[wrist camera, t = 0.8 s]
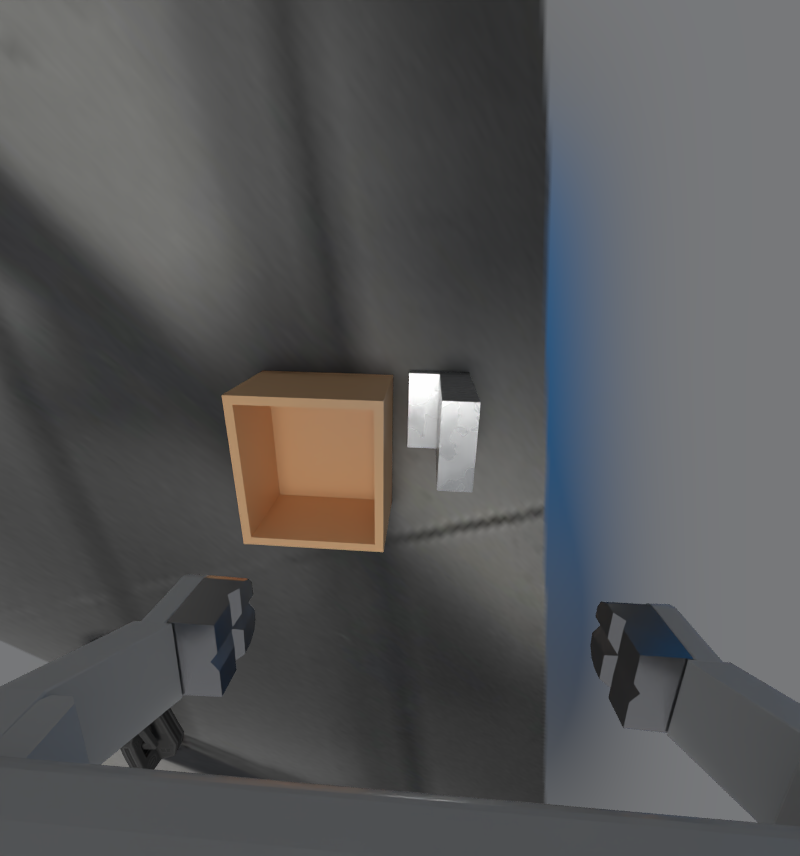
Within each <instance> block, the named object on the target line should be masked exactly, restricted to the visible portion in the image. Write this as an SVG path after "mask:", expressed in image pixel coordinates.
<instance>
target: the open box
mask: <svg viewBox="0 0 800 856" xmlns="http://www.w3.org/2000/svg"><path fill="white" fill-rule="evenodd" d="M222 401H223V407H224V414H225V421H226V427H227V434H228V441H229V447H230V454H231V461H232V467H233V474H234V481H235V487H236V494H237V501H238V507H239V514H240V521H241V527H242V534H243V541H244V544H257V545H274V546H290V547H307V548H324V549H340V550H357V551H374V552H383V551H384V545H385V539H386V533H387V527H388V521H389V515H390V509H391V504H392V436H393V375H380V374H350V373H320V372H290V371H262V372H260V373H258V374H257V375H255V376H253V377H252V378H250V379H248V380H247V381H245V382H243V383H241V384H240V385H238V386H236V387H235V388H233V389H231V390H230V391H228V392H226V393H225V394H223V395H222Z"/></svg>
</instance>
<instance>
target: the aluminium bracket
mask: <svg viewBox="0 0 800 856" xmlns="http://www.w3.org/2000/svg"><path fill="white" fill-rule="evenodd" d="M480 404H481V402H480V399H479V397H478V394H477V391H476V389H475V386H474V384H473V381H472V378H471V376H470V373H469V372H439V371H410V372H409V405H408V444H407V447H415V448H436V477H437V491H457V492H472V490H473V479H474V468H475V458H476V447H477V436H478V425H479V415H480Z"/></svg>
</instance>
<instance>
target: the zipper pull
mask: <svg viewBox="0 0 800 856" xmlns="http://www.w3.org/2000/svg"><path fill="white" fill-rule="evenodd" d="M183 733H184V731H183V729H182V727H181V726H180V724H179V722H178V721H177V719H176V717H175V715H174V714H173V712H172V710H171V708H169V709H168V710H167V711H165V712H164V713H163V714H162V715H160V716H159V717H158V718H157V719H156V720H154V721H153V722H152V723H151V724H150V725H148V726H147V727H146V728H145V729H143V730H142V731H141V732H140V733H139V734H137V735H136V736H135V737H134V738H132V739H131V740H130V741H129V742H128V743H126V744H125V745H124V746H123V747H122V748H120V749H121V751H122V754H123V756H124V758H125V760H126V761H127V763H128V765H129V767H130V768H142V769H153V770H154V769H155V767H156V766H157V764H158V763H159V762H160V760H161V759H163V758H167V757H171V756H174V755H175V754H176V752H177V750H178V748H179V746H180V744H181V742H182V739H183Z"/></svg>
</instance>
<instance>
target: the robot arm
mask: <svg viewBox="0 0 800 856" xmlns="http://www.w3.org/2000/svg"><path fill="white" fill-rule="evenodd" d="M253 594H254V593H253V585H252V581H251V580H249V579H246V578H234V577H223V576H211V575H209V576H207V575H196V574H188V575H185V576H183V577H182V578H181V579H180V580H179V581H178V582H177V583H176V584H175V586H174V587H173V588H172V589H171V590H170V591H169V592H168V593H167V594H166V595H165V596H164V597H163V598H162V599H161V601H160V602H159V603H158V604H157V605H156V606H155V607H154V608H153V609H152V610H151V611H150V612H149V613H148V614H147V616H146V617H145V618H144V619H143V620H142V621H133V622H131V623H129V624H127V625H125V626H123V627H121V628H119V629H117V630H115V631H113V632H111V633H109V634H107V635H105V636H103V637H101V638H99V639H97V640H95V641H92V642H90V643H88V644H86V645H84V646H82V647H80V648H78V649H76V650H74V651H72V652H70V653H68V654H66V655H64V656H62V657H60V658H58V659H56V660H54V661H52V662H49V663H47V664H45V665H44V666H42V667H39V668H37V669H35V670H33V671H31V672H29V673H27V674H25V675H23V676H21V677H19V678H17V679H15V680H13V681H11V682H9V683H7V684H4V685H3V686H0V856H800V703H798V702H796V701H794V700H793V699H791V698H789V697H788V696H786V695H784V694H783V693H781V692H779V691H778V690H776V689H774V688H773V687H771V686H769V685H767V684H766V683H764V682H762V681H761V680H759V679H757V678H756V677H754V676H752V675H750V674H749V673H747V672H746V671H744V670H742V669H741V668H739V667H737V666H735V665H734V664H732V663H728V662H722V660H721V659H720V658H719V657H718V656H717V655H716V654H715V652H714V651H713V650H712V649H711V648H710V647H709V645H707V643H706V642H705V641H704V640H703V639H702V638H701V636H700V635H699V634H698V633H697V632H696V630H695V629H694V628H693V627H692V626H691V625H690V624H689V622H688V621H687V620H686V619H685V618H684V617H683V616H682V614H681V613H680V612H679V611H678V610H677V609H676V608H675V607H673V606H672V605H670V604H649V603H647V604H633V603H618V602H600V604H599V605H598V607H597V612H596V618H597V620H598V622H599V623H600V626H599V627H598V628H597V629H596V630H595V631H594V632H593V633H592V639H591V656H592V661H593V664H594V668H595V670H596V673H597V675H598V677H599V679H600V680H601V681H603V682H604V683H605V684H606V685H607V686H609V687H610V693H609V700H610V702H611V704H612V706H613V708H614V710H615V712H616V714H617V716H618V718H619V720H620V722H621V724H622V726H623V728H627V729H636V730H646V731H655V732H663V733H667V736H668V737H670V738H671V739H672V740H673V741H674V742H675V743H676V744H677V745H678V746H679V747H680V748H681V749H682V750H683V751H684V752H686V754H687V755H688V756H689V757H690V758H691V759H693V760H694V761H695V762H696V763H697V764H698V765H699V766H700V767H701V768H702V769H703V770H704V771H705V772H706V773H707V774H708V775H709V776H710V777H711V778H712V779H713V780H714V781H716V783H718V785H720V786H721V787H722V788H723V789H724V790H725V791H726V792H727V793H728V794H729V795H730V796H731V797H732V798H733V799H734V800H735V801H736V802H737V803H738V804H739V805H740V806H741V807H743V809H745V810H746V811H747V812H748V813H749V814H750V815H751V816H752V817H753V818H754V819H755V820H756V821H757V822H758V823H755V822H743V821H732V820H721V819H710V818H698V817H687V816H676V815H675V816H674V815H664V814H653V813H642V812H630V811H619V810H608V809H596V808H585V807H573V806H562V805H550V804H540V803H528V802H517V801H506V800H494V799H483V798H472V797H460V796H449V795H438V794H426V793H415V792H403V791H392V790H381V789H369V788H358V787H347V786H335V785H324V784H312V783H301V782H290V781H278V780H267V779H256V778H244V777H233V776H221V775H210V774H199V773H187V772H176V771H164V770H153V769H142V768H130V767H119V766H108V765H101V764H102V763H103V762H105V761H106V760H107V759H108V758H109V757H111V756H112V755H113V754H114V753H115V752H117V751H118V750H119V749H120V748H122V747H123V746H124V745H125V744H126V743H128V742H129V741H130V740H131V739H132V738H134V737H135V736H136V735H137V734H139V733H140V732H141V731H142V730H143V729H145V728H146V727H147V726H148V725H150V724H151V723H152V722H153V721H154V720H156V719H157V718H158V717H159V716H160V715H162V714H163V713H164V712H165V711H167V710H168V709H169V708H170V707H171V706H173V705H174V704H175V703H176V702H177V701H179V700H180V699H181V698H182V697H183V696H182V695H196V696H217V697H222V696H223V694H224V692H225V691H226V689H227V687H228V685H229V683H230V681H231V679H232V677H233V676H234V674H235V672H236V670H237V669H236V659H238V658H239V657H241V656H242V655H244V654H245V653H246V651H247V649H248V647H249V645H250V643H251V640H252V636H253V633H254V629H255V609H254V608H253V607H252V606H251V605H250V603H249V601H250V599H251V597H252V596H253Z"/></svg>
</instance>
